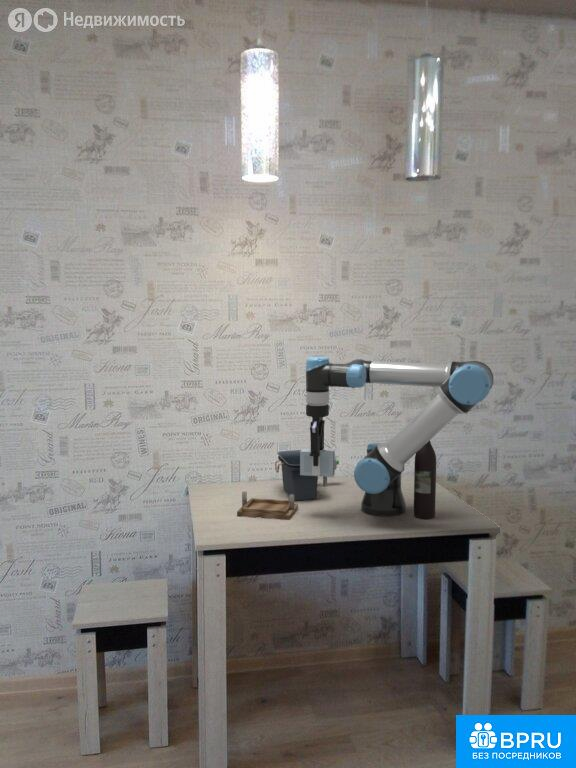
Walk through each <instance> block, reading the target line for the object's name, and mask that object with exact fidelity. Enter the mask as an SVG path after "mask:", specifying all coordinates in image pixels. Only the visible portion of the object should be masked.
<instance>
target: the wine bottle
mask: <svg viewBox="0 0 576 768" xmlns="http://www.w3.org/2000/svg"><path fill="white" fill-rule="evenodd" d="M413 473H414V476H413V477H414V478H413V479H414V480H413V482H414V483H413V486H414V487H413V516H414V517H415V518H418V519H423V520H429V519H434V518H435V517H436V500H437V499H436V497H437V496H436V495H437V454H436V451H435V449H434V447H433V445H432V442H431V440H430V441H429V442H428V443H426V444H425V445H424V446H423V447H422V448H421V449H420V450H419V451H418V452H417V453H416V454H414V472H413Z"/></svg>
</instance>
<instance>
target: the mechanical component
mask: <svg viewBox="0 0 576 768" xmlns="http://www.w3.org/2000/svg"><path fill="white" fill-rule="evenodd" d="M339 463H340V461H339V460H337V459H336V458H335V471H336V470H337V468H338V467H337V466H338V465H339ZM322 485H323V487H328V477H324V476H322Z"/></svg>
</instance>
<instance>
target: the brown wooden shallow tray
mask: <svg viewBox="0 0 576 768" xmlns="http://www.w3.org/2000/svg"><path fill="white" fill-rule="evenodd" d="M247 494H248V492H247V491H241V507H240V508H239V509H238V510H237V511H236V512H237V513H236V517H242V516H248V517H247V518H256V517H261V518H260V519H271V518H274V519H275V520H287V521H288V520H291V519H292V517H293V516H294V514H295V513H296V512H297V510H298V509H299V504H298V503H295V500H294V495H293V494H291V495H289V494H288V497H289V500H288V499H275V498H274V499H271V498H258V497H257V498H256V497H251V498H249V500H248V495H247Z"/></svg>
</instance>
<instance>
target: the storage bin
mask: <svg viewBox="0 0 576 768" xmlns="http://www.w3.org/2000/svg"><path fill="white" fill-rule="evenodd" d="M301 450H302V449H295V450H281V451H278V452H277V453H276V454H277V455H278V457H277V458H278V460H276V461H275V463H274V470H275V473H277V474H278V473H279V470H280V466H281V476H282V477H281V478H282V486H283V487H282V488H283V490H284V491H285V492H286V493H287V494H288V496H289V495H291V494H293V495H294V502H295V501H296V502H298V501H310V500H311V501H312V500H316V499H317V496H318V495H317V494H318V483H319V481H318V480H319V476H307V475H300V451H301ZM278 462H280V463H278ZM277 463H278V465H277Z"/></svg>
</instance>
